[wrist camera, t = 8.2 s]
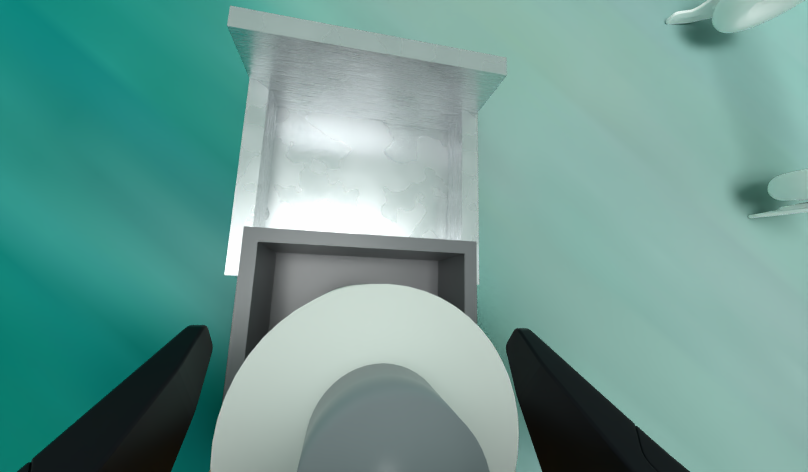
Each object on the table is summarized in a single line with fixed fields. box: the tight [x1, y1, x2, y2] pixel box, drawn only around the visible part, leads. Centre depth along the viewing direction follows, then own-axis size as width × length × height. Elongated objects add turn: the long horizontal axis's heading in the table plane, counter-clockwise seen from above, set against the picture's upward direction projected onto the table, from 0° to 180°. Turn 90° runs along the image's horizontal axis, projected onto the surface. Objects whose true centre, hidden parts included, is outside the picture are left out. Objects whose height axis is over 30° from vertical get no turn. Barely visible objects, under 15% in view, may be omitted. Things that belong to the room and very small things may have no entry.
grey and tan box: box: [209, 226, 477, 472], centre depth 14 cm, size 11×12×8 cm
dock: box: [224, 6, 507, 285], centre depth 17 cm, size 13×13×6 cm
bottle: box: [210, 284, 519, 472], centre depth 11 cm, size 6×6×13 cm
